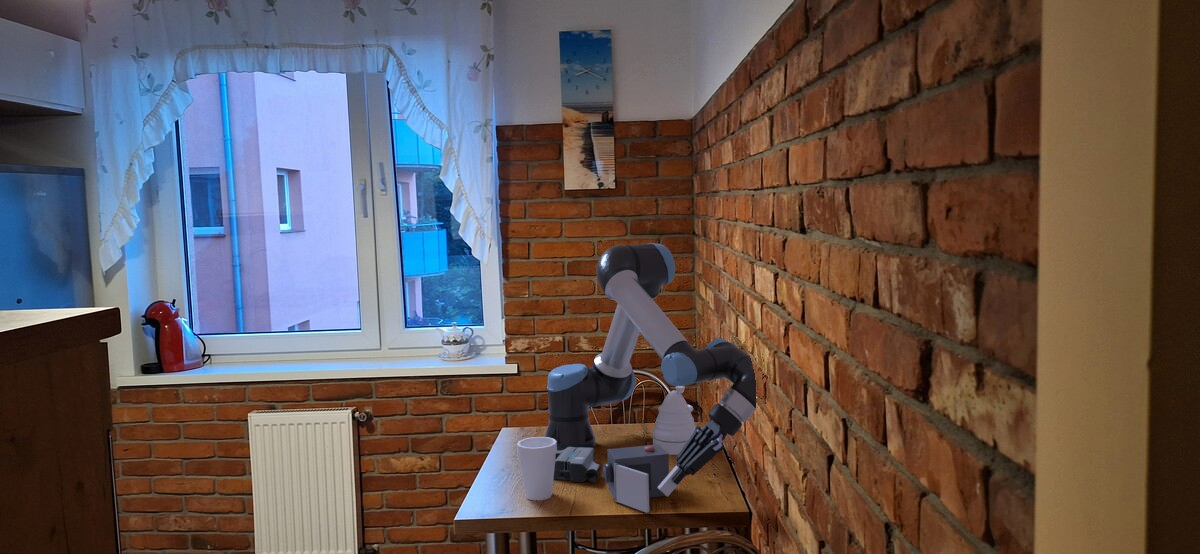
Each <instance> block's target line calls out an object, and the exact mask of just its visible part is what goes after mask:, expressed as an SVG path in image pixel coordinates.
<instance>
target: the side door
mask: <svg viewBox="0 0 1200 554" xmlns="http://www.w3.org/2000/svg"><path fill="white" fill-rule="evenodd" d="M614 487H615V499H614V502H615V503H619V504H622V505H624V506H627V507H630V508H633V509H636V510H637V511H640V512H644V513H646V514H648V513H650V498H649V480H648V474H647V473H643V472H640V471H637V470H634V469H631V468H628V467H625V466H621V465H618V463H614Z"/></svg>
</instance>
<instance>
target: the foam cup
mask: <svg viewBox="0 0 1200 554" xmlns="http://www.w3.org/2000/svg"><path fill="white" fill-rule="evenodd" d="M556 452H557V441H556V440H555V439H553V438H549V437H545V436H534V437H532V436H531V437H527V438H524V439H523V438H522V439H521V440H518V441H517V443H516V454H517V456H518V461H519V467H520V473H521V478H522V484H523V490H524V495H525V498H526V499H527V500H530V501H536V500H537V501H544V500H547V499H550V498H552V495H553V487H554V480H555V478H554V468H555V458H556Z"/></svg>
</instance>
